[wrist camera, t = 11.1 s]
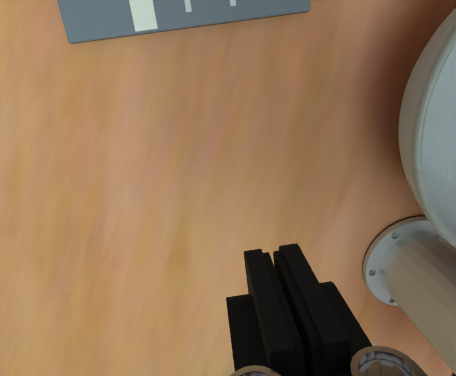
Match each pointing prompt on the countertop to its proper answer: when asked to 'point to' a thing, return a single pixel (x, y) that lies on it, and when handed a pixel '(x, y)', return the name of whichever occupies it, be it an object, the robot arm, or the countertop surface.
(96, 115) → the countertop surface
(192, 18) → the board
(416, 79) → the decorative bowl
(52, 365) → the countertop surface
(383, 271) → the robot arm
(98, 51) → the countertop surface
